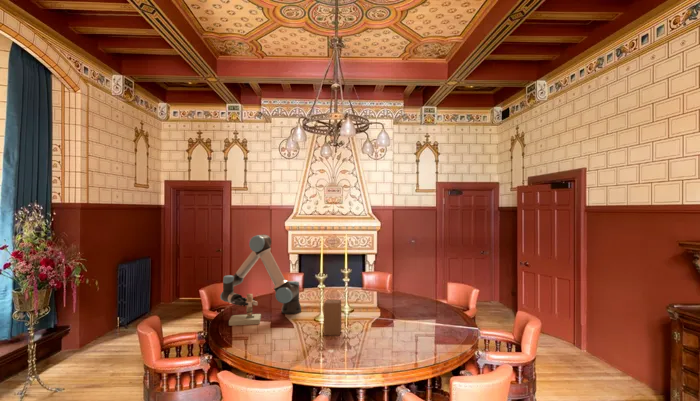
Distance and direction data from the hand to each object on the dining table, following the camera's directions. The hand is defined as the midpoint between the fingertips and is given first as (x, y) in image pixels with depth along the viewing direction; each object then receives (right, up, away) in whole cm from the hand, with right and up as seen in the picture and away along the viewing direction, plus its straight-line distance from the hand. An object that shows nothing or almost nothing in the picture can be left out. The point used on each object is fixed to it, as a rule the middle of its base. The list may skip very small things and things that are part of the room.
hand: (254, 304), depth 243 cm
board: (-7, -13, +2) cm, 15 cm away
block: (+55, -12, -22) cm, 61 cm away
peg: (-4, -9, +3) cm, 10 cm away
